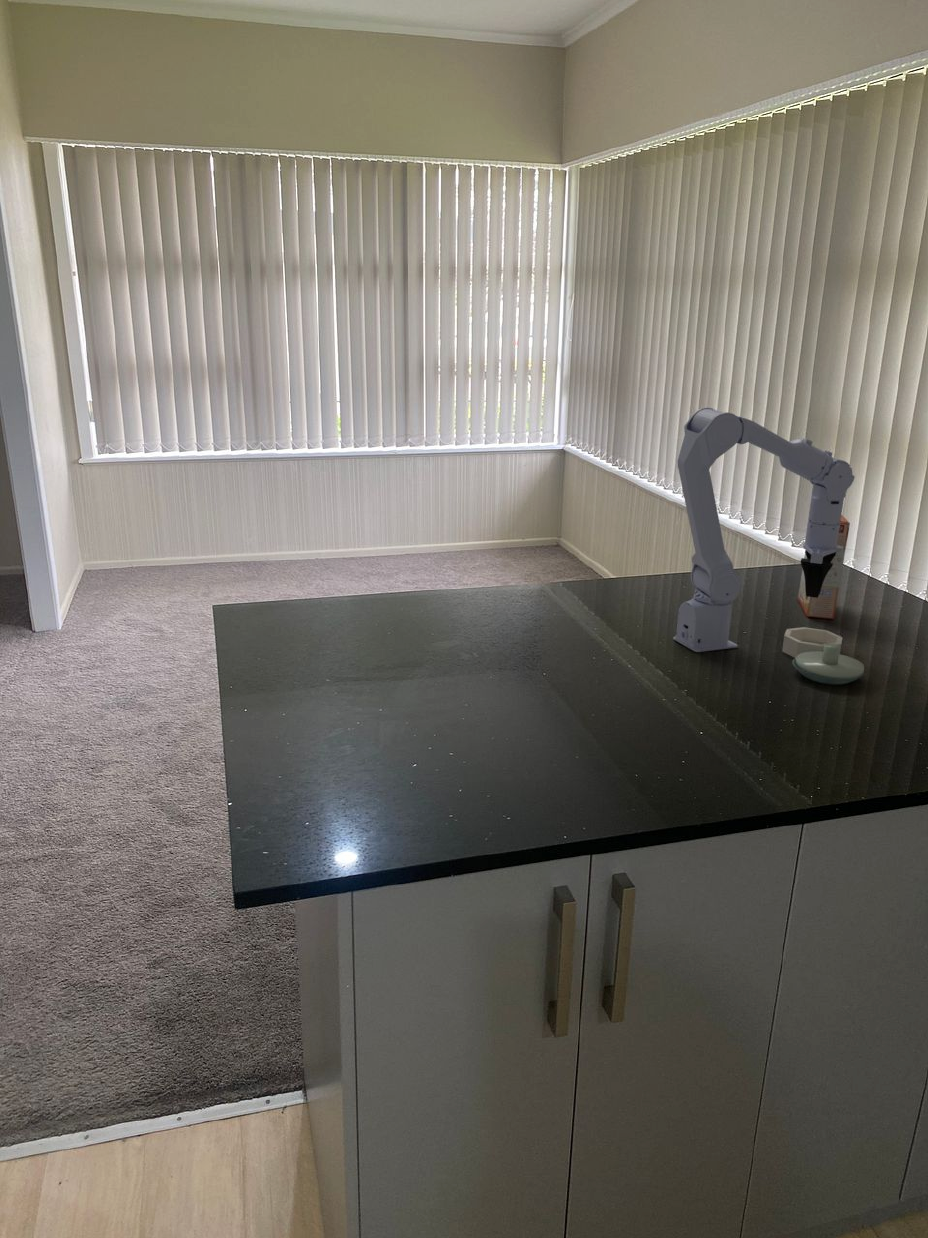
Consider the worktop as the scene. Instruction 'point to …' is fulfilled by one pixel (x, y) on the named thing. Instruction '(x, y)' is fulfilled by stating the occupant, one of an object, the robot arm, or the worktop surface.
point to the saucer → (824, 679)
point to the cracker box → (826, 582)
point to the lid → (830, 663)
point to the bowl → (808, 640)
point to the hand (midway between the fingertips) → (813, 591)
